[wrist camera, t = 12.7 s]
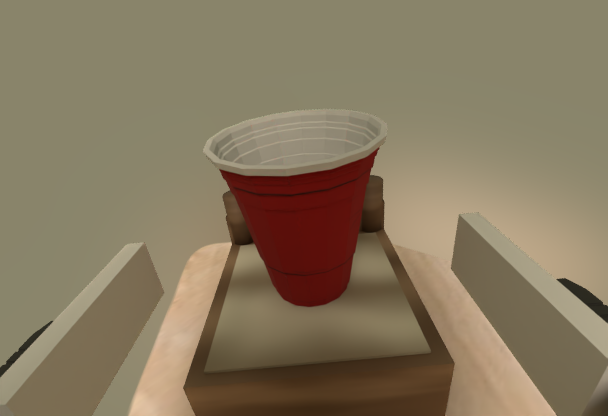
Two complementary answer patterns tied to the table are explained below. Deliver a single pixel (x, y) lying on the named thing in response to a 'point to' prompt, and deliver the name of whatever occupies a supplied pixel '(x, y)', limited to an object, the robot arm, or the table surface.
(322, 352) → the walnut stand
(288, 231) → the plastic cup
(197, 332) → the table surface
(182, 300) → the table surface
